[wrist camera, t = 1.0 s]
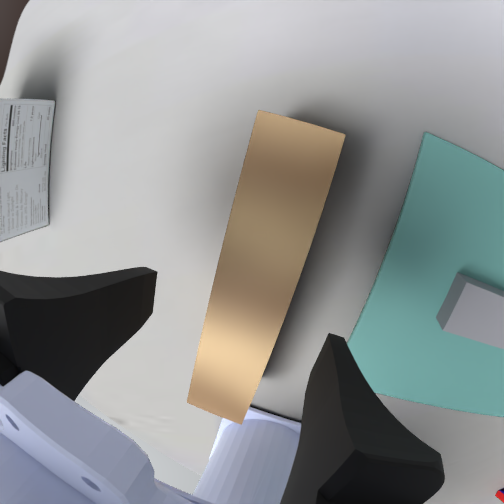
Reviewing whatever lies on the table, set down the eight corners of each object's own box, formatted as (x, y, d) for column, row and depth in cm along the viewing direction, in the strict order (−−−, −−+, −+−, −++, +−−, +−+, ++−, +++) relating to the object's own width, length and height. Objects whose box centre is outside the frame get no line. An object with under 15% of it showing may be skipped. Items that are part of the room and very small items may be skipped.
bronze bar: (261, 375, 21) (241, 424, 16) (215, 357, 22) (186, 402, 17) (342, 142, 16) (345, 134, 11) (280, 123, 16) (258, 109, 11)
